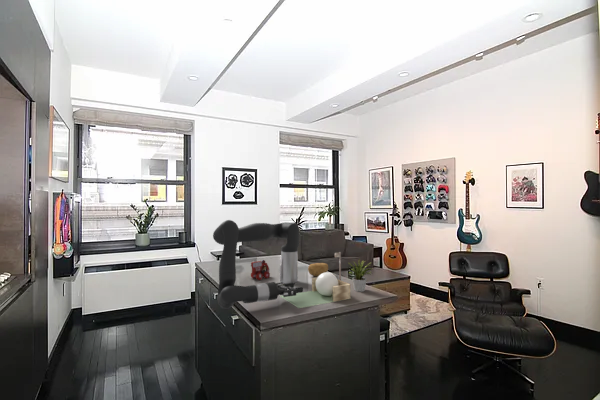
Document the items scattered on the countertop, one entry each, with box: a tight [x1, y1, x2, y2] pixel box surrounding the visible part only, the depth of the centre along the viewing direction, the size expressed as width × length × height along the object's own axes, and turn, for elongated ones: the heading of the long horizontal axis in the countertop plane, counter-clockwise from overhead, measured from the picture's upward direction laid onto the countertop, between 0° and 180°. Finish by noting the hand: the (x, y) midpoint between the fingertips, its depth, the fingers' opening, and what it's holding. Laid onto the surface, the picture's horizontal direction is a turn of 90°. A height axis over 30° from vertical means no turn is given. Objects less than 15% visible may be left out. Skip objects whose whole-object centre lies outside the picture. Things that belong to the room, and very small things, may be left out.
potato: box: [307, 262, 329, 277], centre depth 194 cm, size 10×14×8 cm
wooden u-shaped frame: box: [311, 251, 351, 303], centre depth 155 cm, size 11×19×20 cm, turn 29°
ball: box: [316, 271, 339, 296], centre depth 153 cm, size 11×11×11 cm
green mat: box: [279, 290, 352, 309], centre depth 151 cm, size 28×20×1 cm
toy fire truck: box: [250, 259, 271, 281], centre depth 189 cm, size 7×12×10 cm, turn 133°
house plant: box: [348, 258, 372, 292], centre depth 162 cm, size 14×14×16 cm
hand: (298, 287), depth 146 cm, fingers open, 8 cm apart
